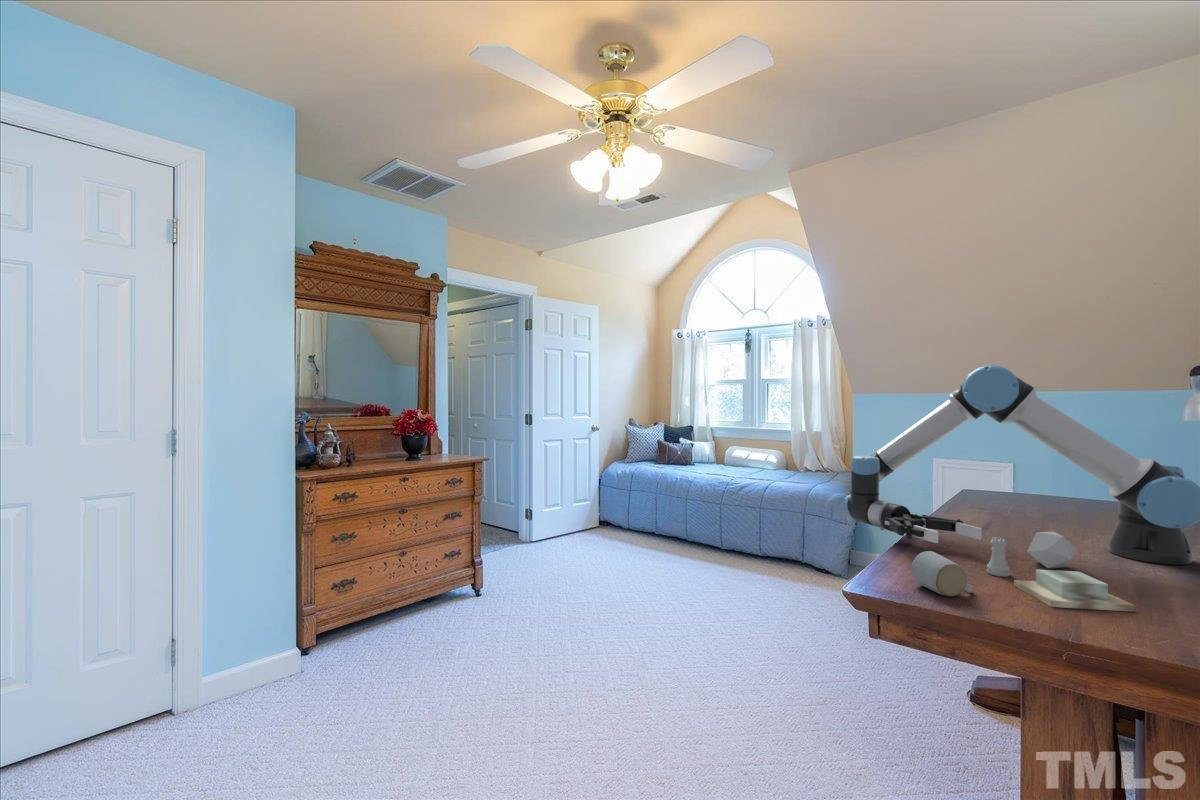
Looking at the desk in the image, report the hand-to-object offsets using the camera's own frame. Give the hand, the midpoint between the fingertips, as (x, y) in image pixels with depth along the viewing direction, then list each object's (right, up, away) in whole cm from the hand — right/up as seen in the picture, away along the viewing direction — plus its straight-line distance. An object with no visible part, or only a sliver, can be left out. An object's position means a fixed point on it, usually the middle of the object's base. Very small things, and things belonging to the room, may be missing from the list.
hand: (959, 535), depth 136 cm
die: (+20, -7, -3) cm, 21 cm away
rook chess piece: (+3, -7, -9) cm, 12 cm away
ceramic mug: (-16, -7, -20) cm, 27 cm away
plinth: (+7, -7, -24) cm, 26 cm away
